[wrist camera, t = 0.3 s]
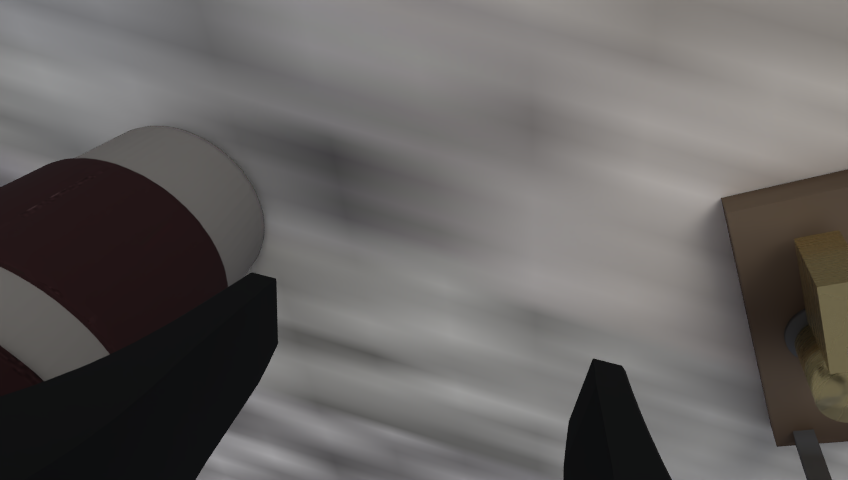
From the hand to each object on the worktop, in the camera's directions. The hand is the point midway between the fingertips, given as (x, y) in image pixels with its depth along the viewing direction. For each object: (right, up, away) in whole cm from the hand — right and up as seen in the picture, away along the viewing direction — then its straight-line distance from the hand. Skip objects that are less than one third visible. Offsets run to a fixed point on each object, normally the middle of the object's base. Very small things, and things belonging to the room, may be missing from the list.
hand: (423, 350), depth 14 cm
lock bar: (+13, 0, +6) cm, 14 cm away
